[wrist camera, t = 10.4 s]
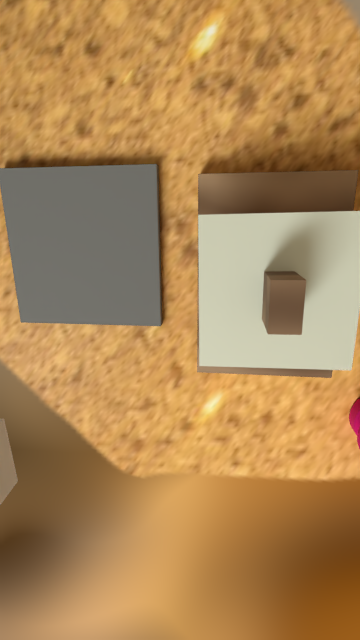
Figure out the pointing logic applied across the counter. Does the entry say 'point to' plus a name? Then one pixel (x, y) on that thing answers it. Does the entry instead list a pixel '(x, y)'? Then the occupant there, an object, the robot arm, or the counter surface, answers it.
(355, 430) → the pepper mill
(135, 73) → the counter surface
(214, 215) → the lid
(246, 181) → the board
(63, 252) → the mat
